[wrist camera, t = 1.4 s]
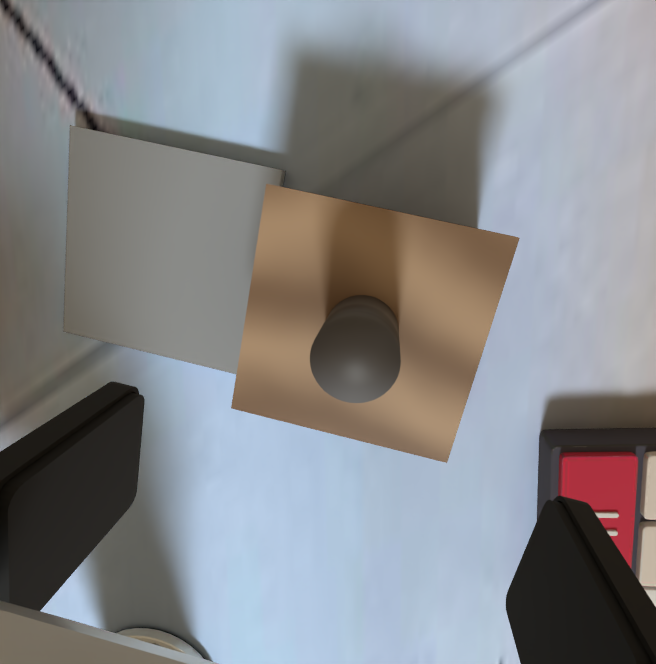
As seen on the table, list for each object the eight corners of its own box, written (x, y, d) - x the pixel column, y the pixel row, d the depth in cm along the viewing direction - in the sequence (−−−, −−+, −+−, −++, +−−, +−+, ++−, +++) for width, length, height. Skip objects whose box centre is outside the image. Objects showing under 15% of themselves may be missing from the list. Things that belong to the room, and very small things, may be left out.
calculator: (742, 449, 28) (719, 648, 31) (697, 421, 32) (680, 599, 35) (555, 450, 30) (550, 639, 33) (535, 423, 34) (533, 593, 37)
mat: (252, 372, 35) (248, 377, 34) (71, 328, 36) (63, 331, 35) (285, 171, 31) (282, 169, 30) (79, 127, 32) (70, 125, 31)
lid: (442, 445, 28) (459, 520, 21) (241, 394, 29) (196, 451, 22) (509, 235, 24) (554, 246, 17) (275, 185, 25) (233, 177, 18)
